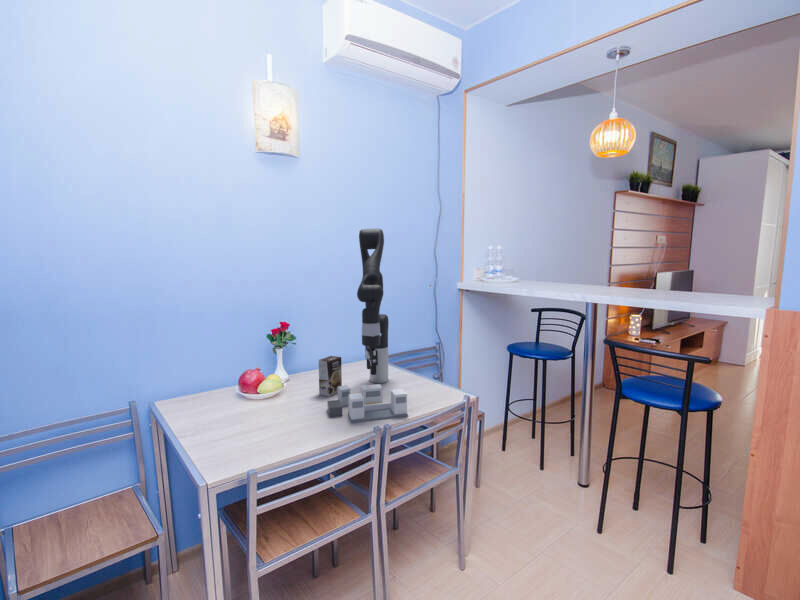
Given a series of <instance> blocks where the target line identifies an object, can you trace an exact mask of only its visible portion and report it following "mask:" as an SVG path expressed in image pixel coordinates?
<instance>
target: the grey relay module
mask: <svg viewBox="0 0 800 600" xmlns="http://www.w3.org/2000/svg"><path fill="white" fill-rule="evenodd" d="M349 394H351V388H350V387H349V386H348V385H345V384H344V385H342V386H339V387H338V393H337V400H340V402H341V405H342V407H345V406H347V407H348V406H349Z"/></svg>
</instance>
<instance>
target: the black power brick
mask: <svg viewBox="0 0 800 600" xmlns="http://www.w3.org/2000/svg"><path fill="white" fill-rule="evenodd" d="M326 403H327V413H328V417H329V418H337V417H343V406H342V405H341V402H340V400H338V399H334V400H332V399H331V400H327V402H326Z"/></svg>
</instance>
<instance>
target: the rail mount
mask: <svg viewBox="0 0 800 600" xmlns="http://www.w3.org/2000/svg"><path fill="white" fill-rule="evenodd" d="M347 411H348V412H347V413H348V414H347V415H348V417H349V419H350V420H349V421H350V422H351V423H352V424H354V423H355V424H356V423H362V422H369V421H379V420H380V421H381V420H387V419H389V420H390V419H395V418H397V419H398V418H404V417H408V415H409V414H408V393H407V392H406V391H405V390H404V388H397V389H390V401H386V402H383V403H376V404H367V405H364V397H363V395H362V393H361V392H358V393H357V392H356V393H350V394H349V405H348V406H347Z"/></svg>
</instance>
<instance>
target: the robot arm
mask: <svg viewBox="0 0 800 600" xmlns="http://www.w3.org/2000/svg"><path fill="white" fill-rule="evenodd" d="M358 242H359V249H360V250H359V251H360V256H361V263H362V264H361V265H362V278H361V281H360V283H359V286H358V287H357V293H356V297H357V300H358V301H359V302H361V303H364V304H365V308H363V309H362V311H361V344H362V346H364V347H365V348H364V353H365V354H364V355H365V356H364V358H365V360H366V369H367V370H369V381H370V382H371V383H375V384H382V383H386V382H389V316H388V315H387V314H383V313H382V314H381V313H380V312H381V311H380V310H381V303H382V301H383V297H384V279H383V278H384V277H383V274H382V272H381V269H380V268H381V262H382V257H383V253H384V252H383V251H384V247H385V246H384V245H385V236H384V231H383V229H382V228H363V229H360V230H359V234H358ZM369 250H374V251H373V253H371V255H370V253H369Z"/></svg>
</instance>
